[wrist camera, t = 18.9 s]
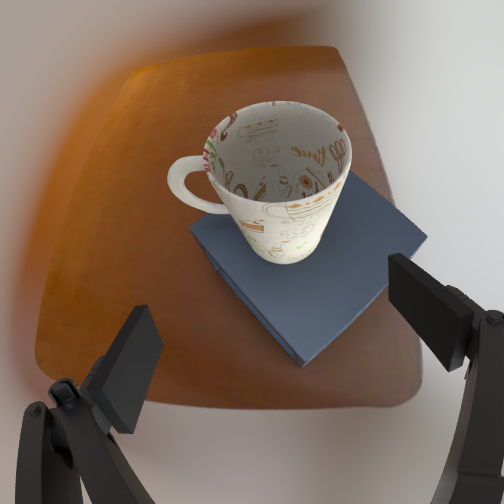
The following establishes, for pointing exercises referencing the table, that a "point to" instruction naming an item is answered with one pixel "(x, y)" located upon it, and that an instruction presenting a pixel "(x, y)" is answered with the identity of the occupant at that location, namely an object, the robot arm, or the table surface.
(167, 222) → the table surface
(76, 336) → the table surface
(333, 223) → the shelf
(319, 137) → the mug
